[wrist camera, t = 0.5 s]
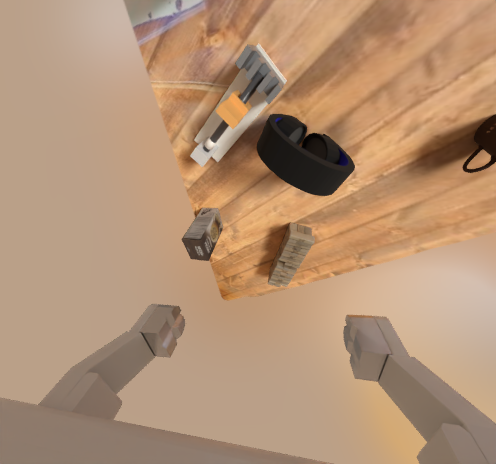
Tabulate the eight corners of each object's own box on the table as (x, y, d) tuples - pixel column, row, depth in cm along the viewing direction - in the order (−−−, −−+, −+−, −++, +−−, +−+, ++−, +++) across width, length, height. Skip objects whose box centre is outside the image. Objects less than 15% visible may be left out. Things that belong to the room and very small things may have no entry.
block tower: (286, 271, 83) (314, 224, 62) (285, 288, 77) (316, 243, 56) (269, 266, 83) (291, 218, 62) (267, 283, 77) (290, 236, 56)
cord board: (259, 43, 36) (249, 41, 29) (286, 80, 39) (284, 86, 32) (196, 138, 50) (178, 152, 43) (219, 160, 53) (207, 176, 46)
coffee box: (224, 227, 71) (209, 261, 59) (208, 227, 72) (190, 260, 61) (218, 207, 65) (201, 240, 53) (201, 207, 66) (180, 239, 55)
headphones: (262, 131, 46) (246, 166, 32) (275, 102, 42) (263, 127, 27) (327, 166, 49) (339, 213, 34) (346, 141, 44) (369, 184, 30)
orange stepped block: (237, 89, 37) (225, 96, 31) (252, 106, 39) (243, 116, 32) (225, 106, 40) (211, 116, 33) (239, 122, 41) (228, 134, 35)
